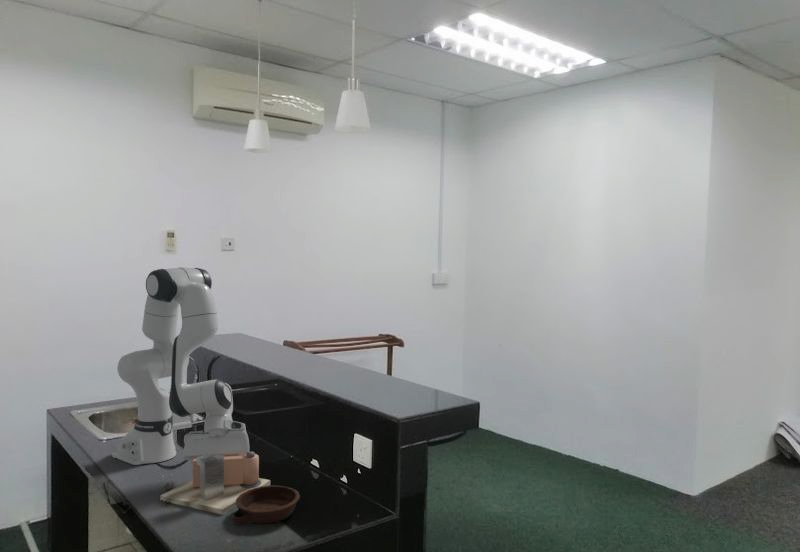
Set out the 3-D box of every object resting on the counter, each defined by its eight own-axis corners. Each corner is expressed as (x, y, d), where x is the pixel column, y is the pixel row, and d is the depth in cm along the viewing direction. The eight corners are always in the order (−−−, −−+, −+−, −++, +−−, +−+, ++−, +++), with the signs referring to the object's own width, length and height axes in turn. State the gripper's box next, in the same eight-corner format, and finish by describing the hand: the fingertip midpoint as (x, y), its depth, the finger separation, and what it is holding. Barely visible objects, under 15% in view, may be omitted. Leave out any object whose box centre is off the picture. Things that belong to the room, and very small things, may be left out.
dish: (317, 510, 170) (317, 493, 169) (254, 538, 153) (254, 520, 152) (279, 493, 181) (279, 477, 180) (216, 518, 164) (216, 500, 163)
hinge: (150, 434, 235) (148, 409, 237) (147, 435, 238) (145, 410, 241) (192, 427, 245) (190, 403, 247) (189, 428, 248) (187, 404, 251)
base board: (160, 500, 174) (160, 494, 174) (212, 473, 195) (212, 467, 195) (222, 514, 165) (222, 508, 165) (270, 484, 186) (270, 479, 186)
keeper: (215, 489, 179) (215, 452, 178) (223, 494, 175) (223, 456, 175) (196, 495, 174) (196, 457, 174) (204, 500, 171) (204, 461, 170)
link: (258, 478, 186) (259, 449, 186) (258, 484, 181) (258, 455, 181) (194, 482, 182) (194, 453, 182) (192, 488, 177) (192, 458, 177)
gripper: (183, 427, 187) (179, 468, 178) (249, 423, 192) (249, 464, 183) (185, 436, 192) (181, 477, 183) (249, 432, 196) (249, 472, 187)
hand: (216, 470), depth 183 cm, fingers closed, pressing on link
